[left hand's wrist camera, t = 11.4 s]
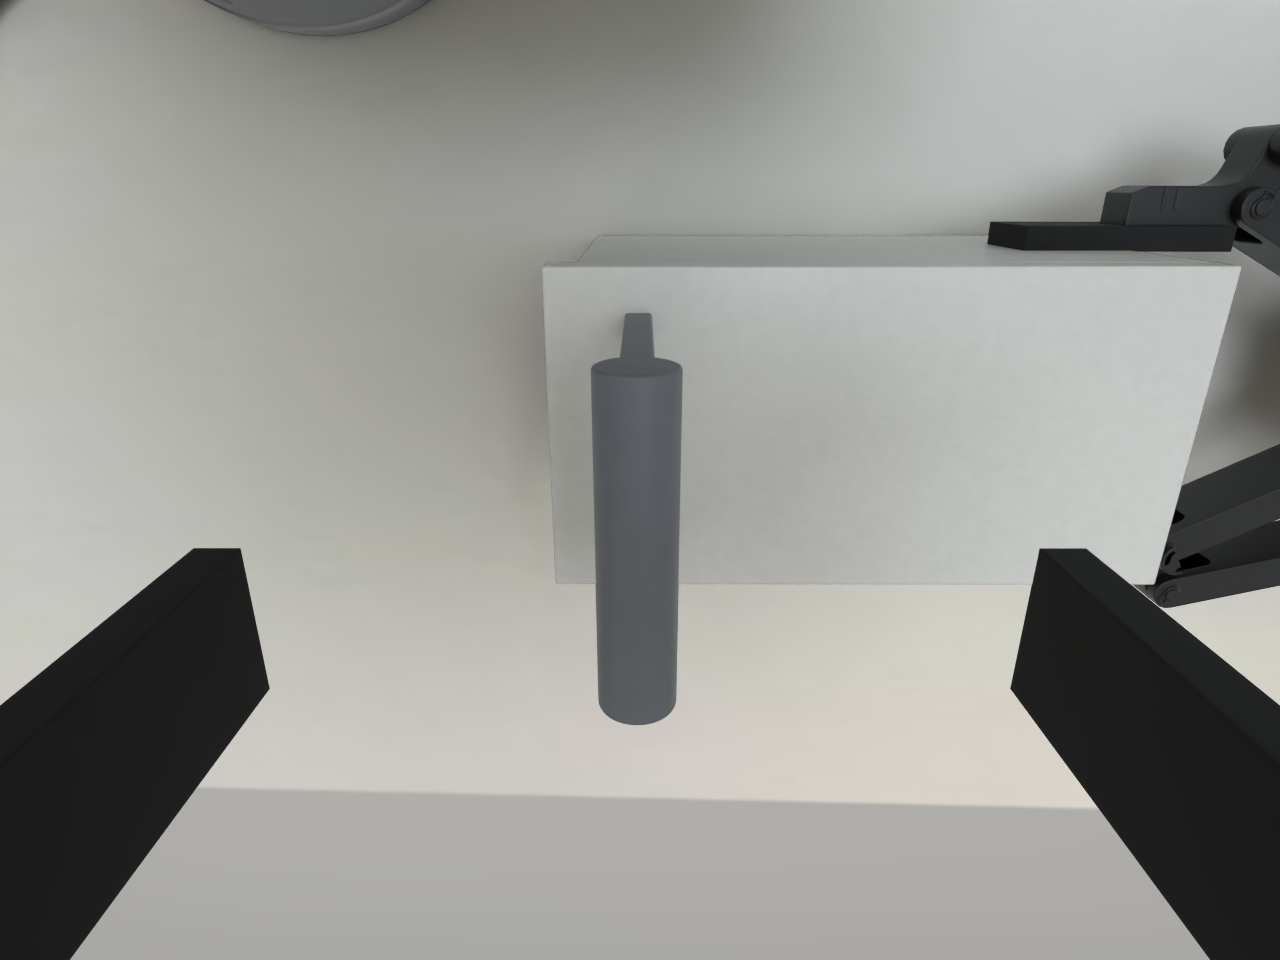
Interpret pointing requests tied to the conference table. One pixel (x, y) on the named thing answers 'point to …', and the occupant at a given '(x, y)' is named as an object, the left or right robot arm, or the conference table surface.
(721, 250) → the chest
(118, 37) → the conference table surface
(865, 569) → the lid
